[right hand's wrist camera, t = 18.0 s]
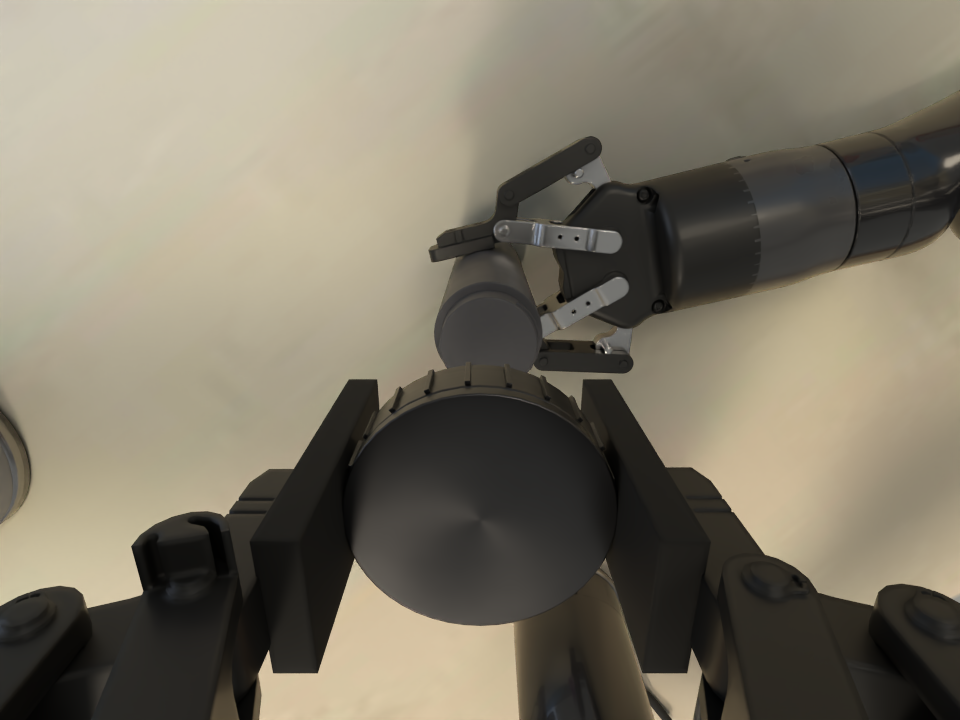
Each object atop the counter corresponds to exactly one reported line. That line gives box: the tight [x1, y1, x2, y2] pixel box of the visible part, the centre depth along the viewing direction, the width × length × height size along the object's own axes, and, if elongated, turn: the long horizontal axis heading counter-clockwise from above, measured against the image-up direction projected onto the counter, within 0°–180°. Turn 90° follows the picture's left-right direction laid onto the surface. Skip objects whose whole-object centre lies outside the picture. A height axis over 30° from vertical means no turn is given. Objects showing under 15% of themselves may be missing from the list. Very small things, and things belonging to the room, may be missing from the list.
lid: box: [342, 362, 618, 626], centre depth 11 cm, size 6×6×2 cm
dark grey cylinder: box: [434, 242, 543, 373], centre depth 29 cm, size 5×5×17 cm
